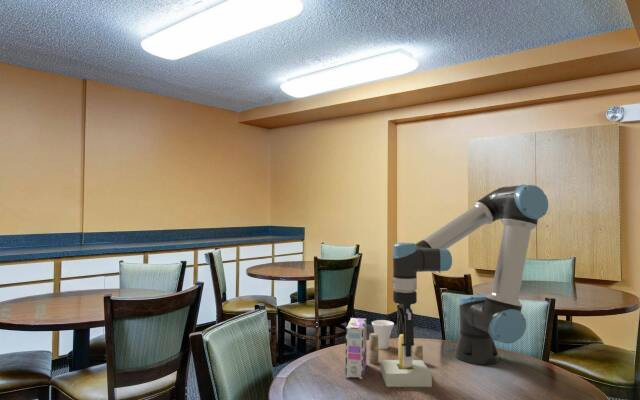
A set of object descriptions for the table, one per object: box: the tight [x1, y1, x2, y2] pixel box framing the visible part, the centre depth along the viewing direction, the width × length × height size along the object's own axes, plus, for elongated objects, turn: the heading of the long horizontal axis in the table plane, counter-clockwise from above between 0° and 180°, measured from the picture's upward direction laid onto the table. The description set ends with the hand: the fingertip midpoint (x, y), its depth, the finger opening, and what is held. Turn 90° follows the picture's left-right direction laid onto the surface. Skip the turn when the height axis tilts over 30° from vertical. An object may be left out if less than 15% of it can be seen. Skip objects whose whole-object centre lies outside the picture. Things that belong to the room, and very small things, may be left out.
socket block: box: [380, 359, 433, 388], centre depth 134 cm, size 14×12×4 cm
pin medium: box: [368, 332, 379, 365], centre depth 149 cm, size 3×3×10 cm
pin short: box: [413, 343, 424, 362], centre depth 150 cm, size 3×3×6 cm
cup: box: [371, 319, 395, 350], centre depth 166 cm, size 9×9×10 cm
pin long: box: [398, 334, 409, 369], centre depth 135 cm, size 3×3×14 cm
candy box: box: [345, 317, 367, 380], centre depth 141 cm, size 14×6×16 cm, turn 168°
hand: (405, 361), depth 135 cm, fingers open, 7 cm apart
